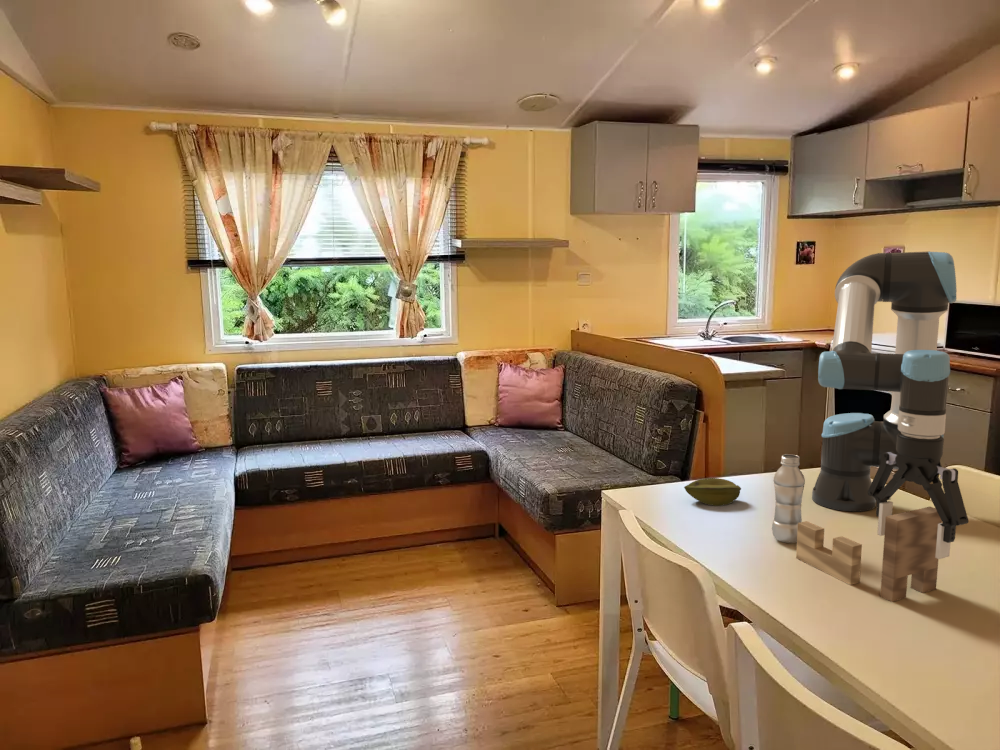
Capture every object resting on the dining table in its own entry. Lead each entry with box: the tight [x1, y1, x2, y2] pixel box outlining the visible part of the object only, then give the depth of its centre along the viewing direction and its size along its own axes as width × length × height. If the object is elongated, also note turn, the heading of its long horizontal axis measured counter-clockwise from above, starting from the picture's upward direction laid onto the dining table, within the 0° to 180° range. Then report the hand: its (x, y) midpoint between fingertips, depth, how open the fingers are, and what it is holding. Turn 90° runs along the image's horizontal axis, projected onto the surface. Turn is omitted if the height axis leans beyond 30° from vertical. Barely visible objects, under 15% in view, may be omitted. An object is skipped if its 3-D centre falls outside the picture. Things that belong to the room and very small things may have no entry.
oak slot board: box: [795, 520, 863, 586], centre depth 146 cm, size 2×14×8 cm, turn 22°
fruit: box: [683, 477, 742, 507], centre depth 188 cm, size 11×12×7 cm
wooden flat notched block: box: [879, 506, 943, 603], centre depth 135 cm, size 12×2×16 cm, turn 113°
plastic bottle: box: [771, 453, 806, 544], centre depth 160 cm, size 6×7×20 cm
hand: (911, 545), depth 135 cm, fingers open, 11 cm apart
